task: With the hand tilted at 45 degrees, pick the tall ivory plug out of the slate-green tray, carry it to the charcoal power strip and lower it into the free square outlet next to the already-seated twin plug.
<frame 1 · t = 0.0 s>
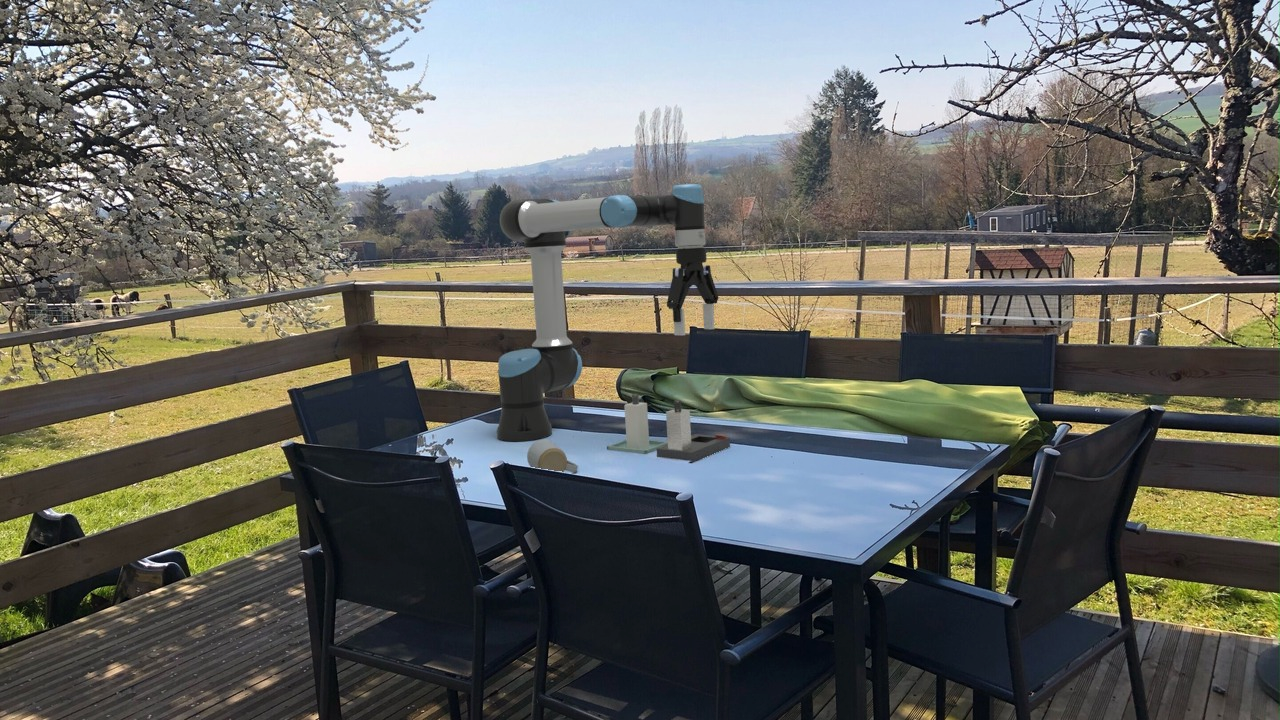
hand: (694, 332, 225), 28 cm above the table, tool pointing down, fingers open, 13 cm apart
ivory plug: (638, 447, 223), point 1 cm above the table, touching tray
tray: (638, 449, 223), on the table
pdu strip: (694, 453, 216), on the table
ceramic mug: (554, 475, 204), on the table
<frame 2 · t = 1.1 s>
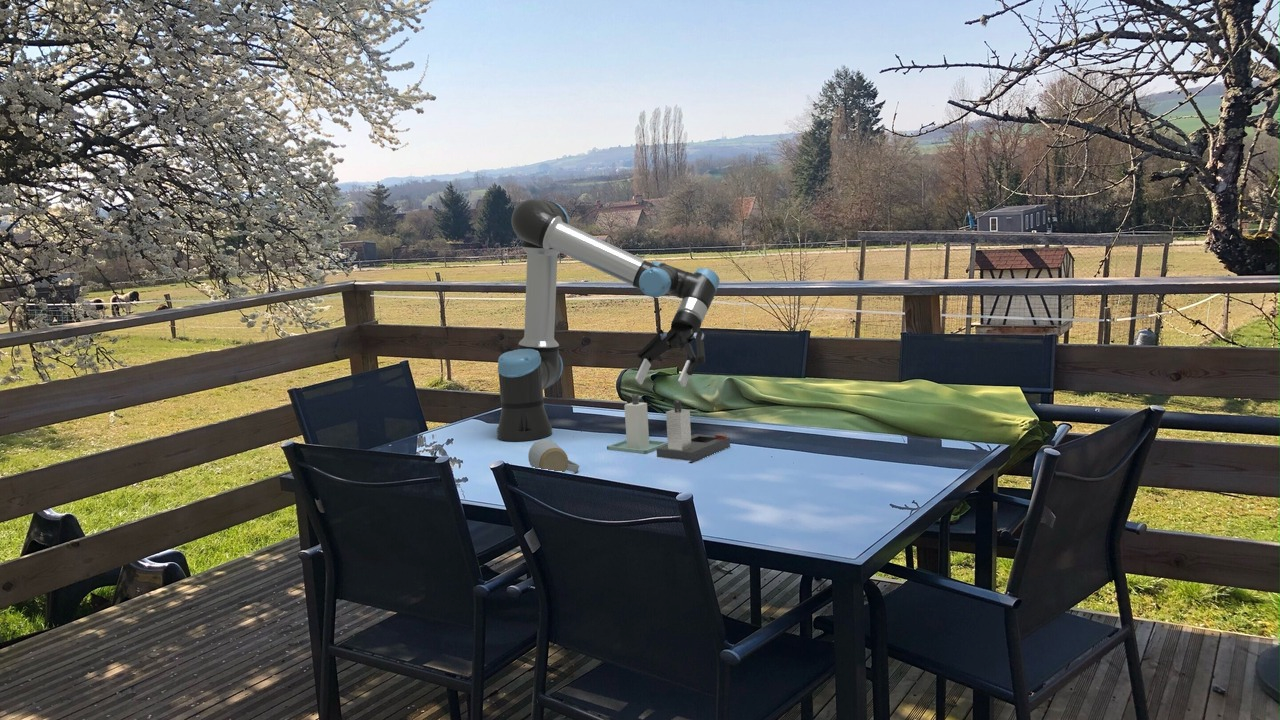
hand: (659, 382, 229), 15 cm above the table, tool tilted 45°, fingers open, 13 cm apart
nothing on the table moved.
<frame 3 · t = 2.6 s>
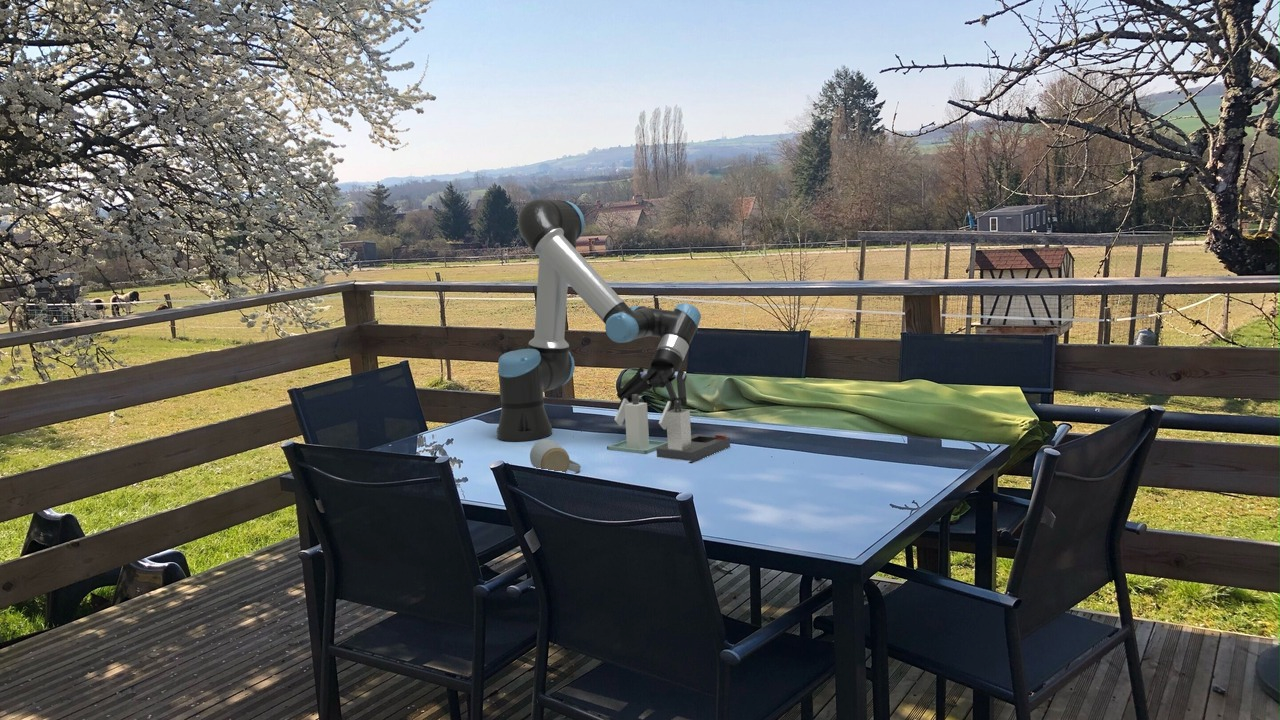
hand: (639, 424, 221), 6 cm above the table, tool tilted 45°, fingers open, 13 cm apart
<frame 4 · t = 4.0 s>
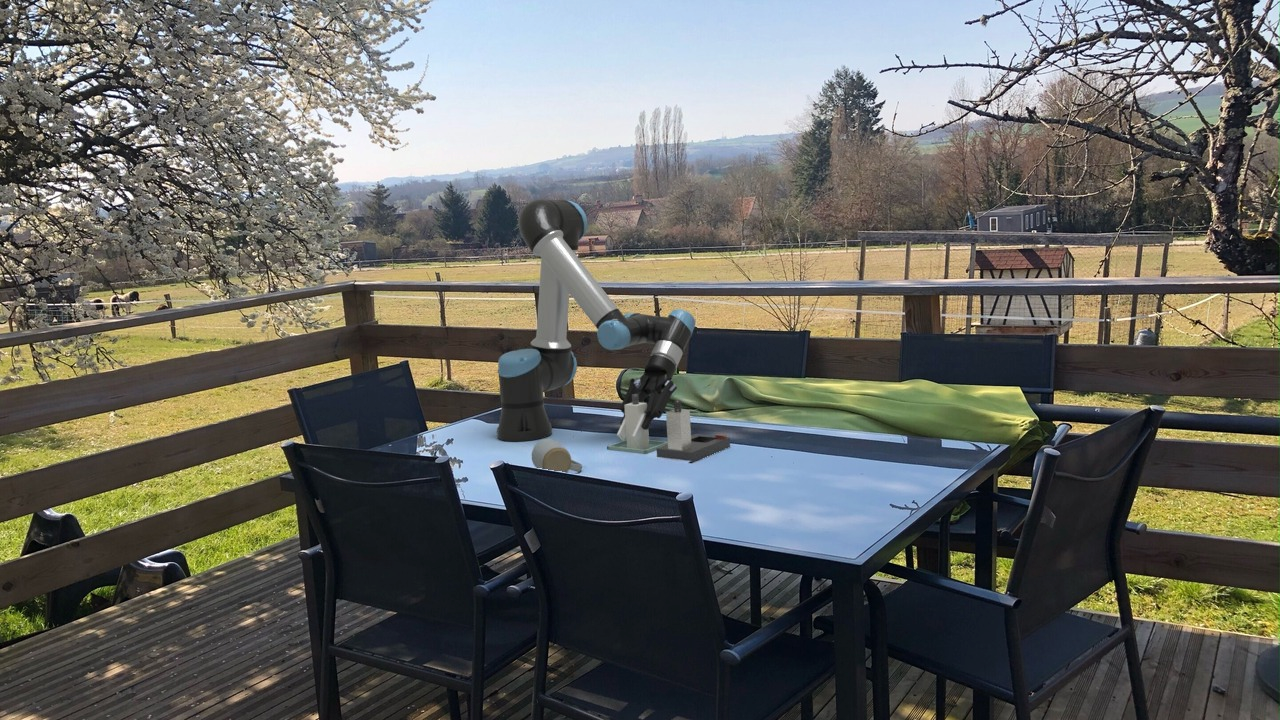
hand: (628, 438, 219), 4 cm above the table, tool tilted 45°, fingers closed on ivory plug, 4 cm apart
ivory plug: (638, 447, 223), point 1 cm above the table, touching gripper, tray
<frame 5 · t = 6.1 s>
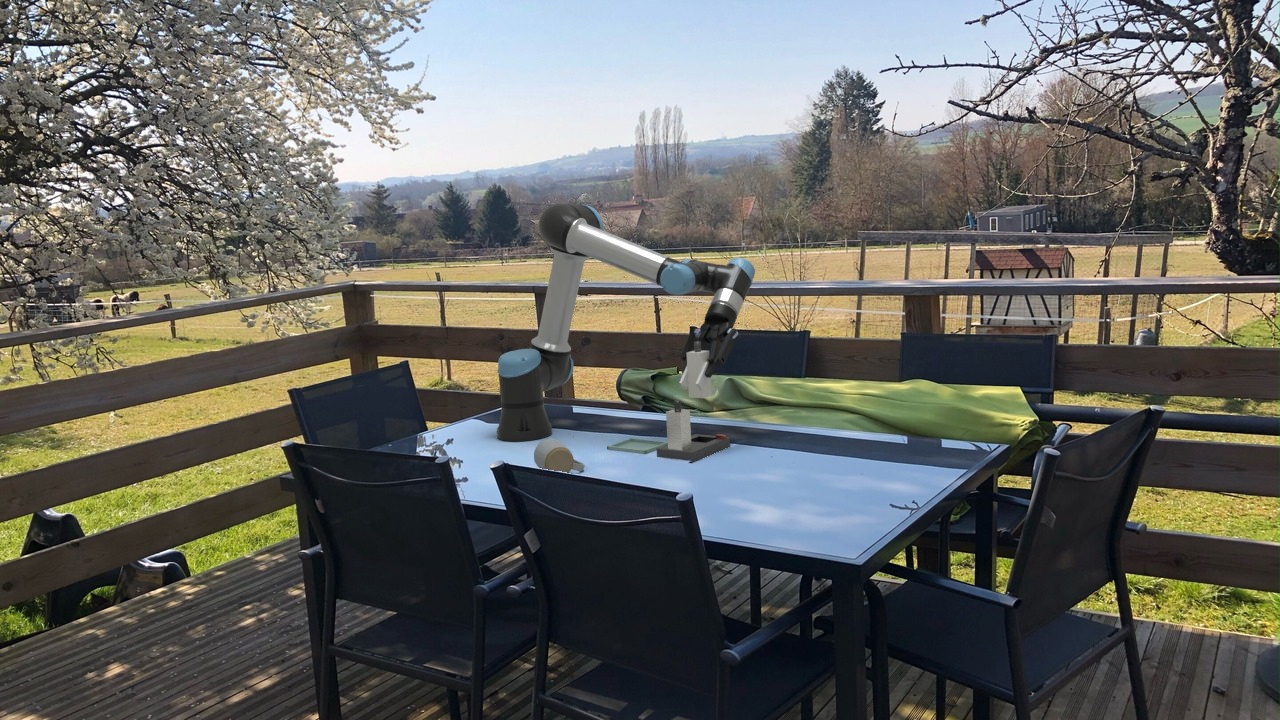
hand: (691, 386, 214), 16 cm above the table, tool tilted 45°, fingers closed on ivory plug, 4 cm apart
ivory plug: (700, 396, 217), point 13 cm above the table, touching gripper
when the fingers open (5 cm above the table, at t = 8.4 s): ivory plug drops 1 cm, resting on pdu strip.
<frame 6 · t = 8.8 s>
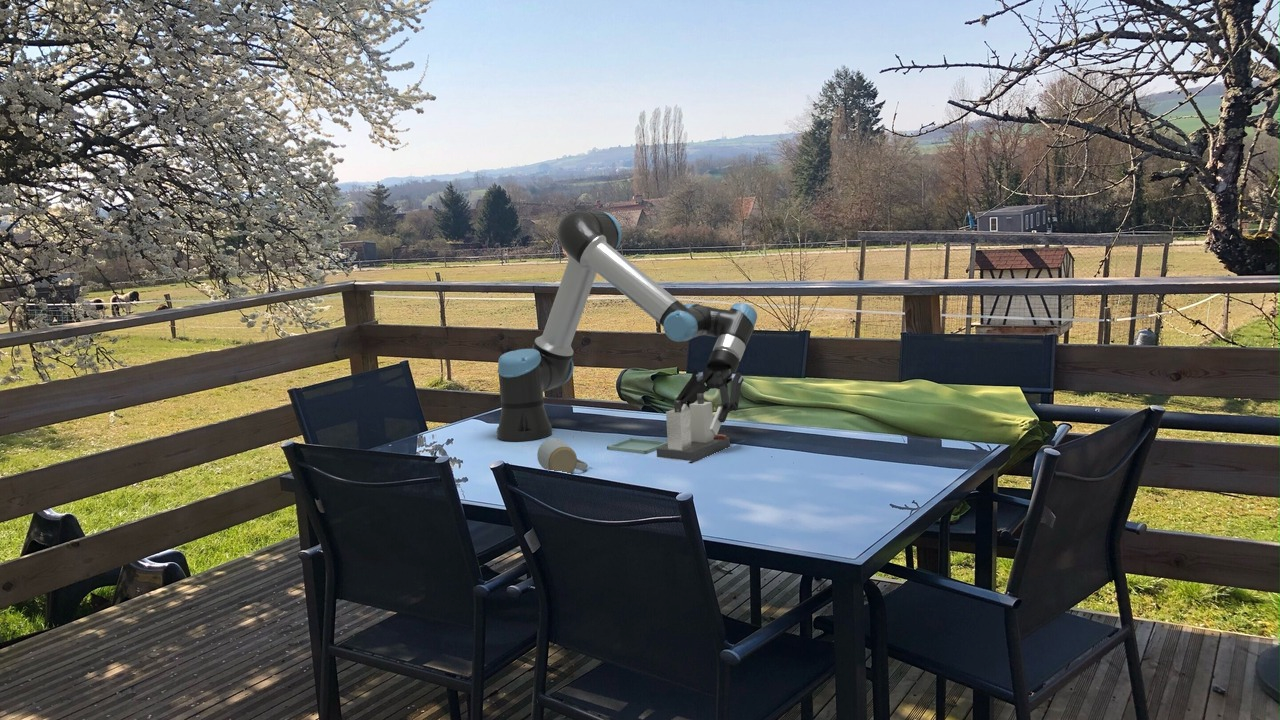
hand: (695, 430, 216), 5 cm above the table, tool tilted 45°, fingers open, 9 cm apart
ivory plug: (702, 447, 219), resting on pdu strip
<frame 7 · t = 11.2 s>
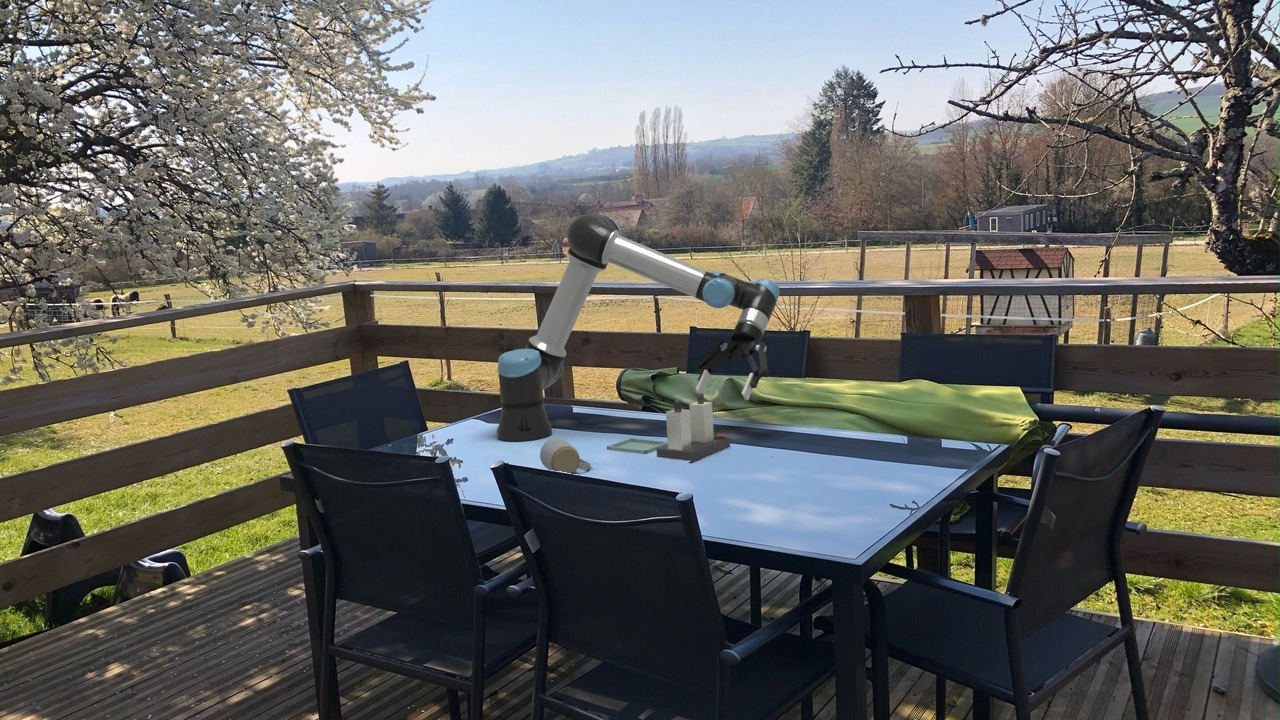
hand: (721, 395, 226), 12 cm above the table, tool tilted 45°, fingers open, 13 cm apart
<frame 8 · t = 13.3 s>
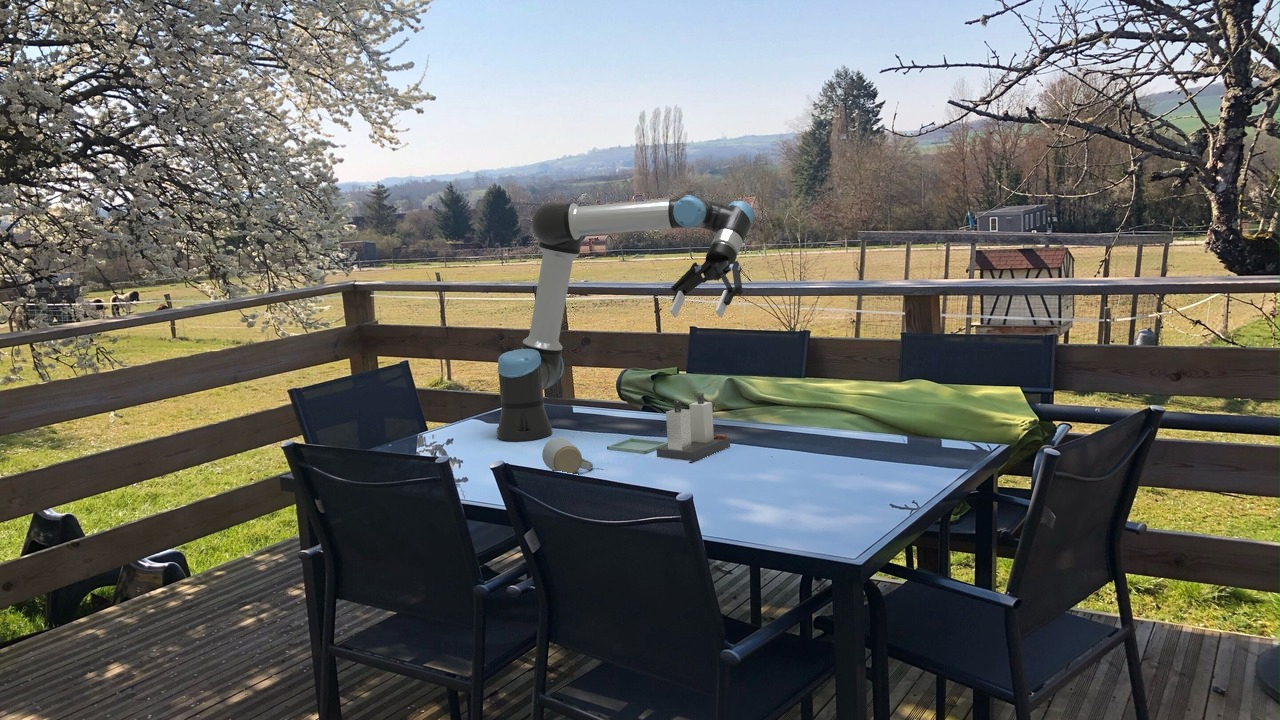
hand: (695, 313, 223), 33 cm above the table, tool tilted 45°, fingers open, 13 cm apart
at the end: ivory plug 0.0 cm from the target spot on the pdu strip, point 0.5 cm above the pdu strip's base; ivory plug tilted 0°; the gripper is holding nothing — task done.
